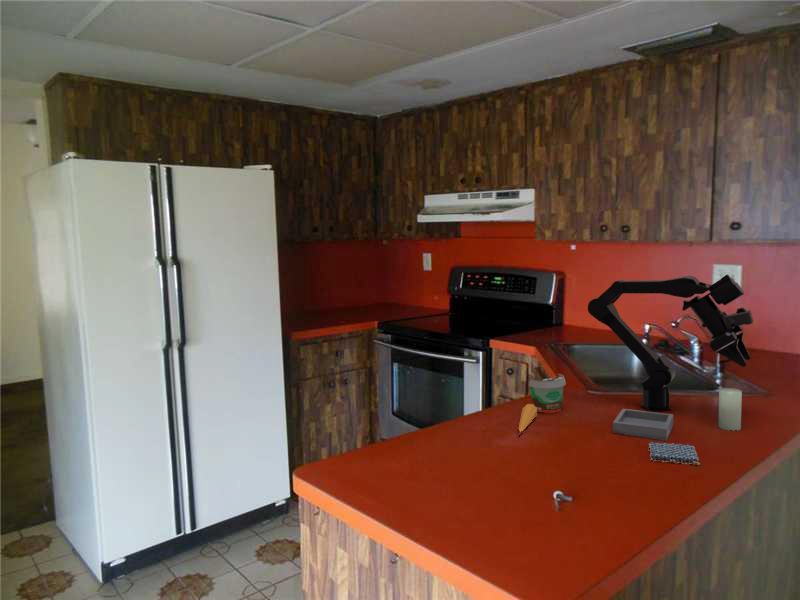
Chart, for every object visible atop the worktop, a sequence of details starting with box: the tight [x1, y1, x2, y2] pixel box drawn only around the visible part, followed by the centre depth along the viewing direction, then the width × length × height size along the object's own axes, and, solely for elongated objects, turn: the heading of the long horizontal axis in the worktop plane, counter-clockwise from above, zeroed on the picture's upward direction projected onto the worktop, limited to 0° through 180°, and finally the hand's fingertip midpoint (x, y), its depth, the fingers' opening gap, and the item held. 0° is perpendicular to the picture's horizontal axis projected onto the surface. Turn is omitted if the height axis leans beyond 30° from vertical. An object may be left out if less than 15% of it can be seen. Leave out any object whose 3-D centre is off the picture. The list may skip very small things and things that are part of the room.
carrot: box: [517, 403, 538, 432], centre depth 163 cm, size 20×4×4 cm, turn 157°
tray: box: [612, 408, 674, 442], centre depth 157 cm, size 13×13×3 cm
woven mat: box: [647, 440, 701, 466], centre depth 139 cm, size 10×11×2 cm
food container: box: [528, 373, 567, 410], centre depth 175 cm, size 12×6×10 cm, turn 117°
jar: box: [717, 387, 743, 432], centre depth 155 cm, size 5×5×10 cm
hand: (747, 362), depth 159 cm, fingers open, 9 cm apart
